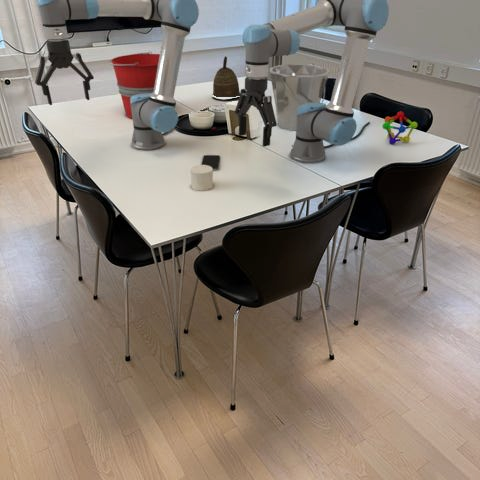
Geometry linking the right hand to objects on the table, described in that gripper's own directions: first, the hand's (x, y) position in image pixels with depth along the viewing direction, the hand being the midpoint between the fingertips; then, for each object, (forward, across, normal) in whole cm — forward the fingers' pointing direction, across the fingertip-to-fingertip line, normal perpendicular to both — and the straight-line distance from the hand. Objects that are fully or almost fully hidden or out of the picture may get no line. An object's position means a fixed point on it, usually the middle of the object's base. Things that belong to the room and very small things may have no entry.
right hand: (254, 140), depth 156 cm
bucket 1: (+19, -113, +14) cm, 116 cm away
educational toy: (+18, -1, +87) cm, 89 cm away
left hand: (-8, -54, -46) cm, 71 cm away
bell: (+18, -117, +70) cm, 138 cm away
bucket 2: (+18, -49, +67) cm, 85 cm away
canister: (+20, -14, -13) cm, 27 cm away
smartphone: (+19, -31, +2) cm, 37 cm away
